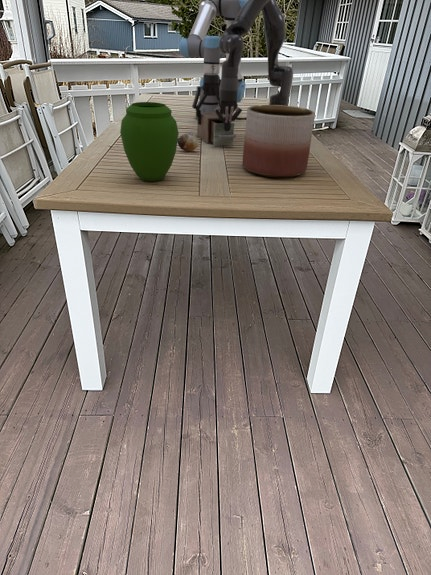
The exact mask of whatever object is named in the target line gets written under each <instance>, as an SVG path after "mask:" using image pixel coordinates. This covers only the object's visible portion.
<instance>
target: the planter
mask: <svg viewBox="0 0 431 575" xmlns="http://www.w3.org/2000/svg"><path fill="white" fill-rule="evenodd" d="M315 117H316V112H315V111H314V110H312V109H308V108H305V107H299V106H292V105H288V106H284V105H269V104H256V105H250V106H248V107H247V108H246V117H245V118H246V119H245V128H244V129H245V131H244V140H243V141H244V142H243V151H242V152H243V153H242V166H243V168H244V169H246V170H247V171H248V172H250V173H251V174H255V175H258V176H261V177H268V178H277V179H280V178H281V179H282V178H283V179H284V178H293V177H298V176H300V175H303V174H305V172H306V171H307V169H308V166H309V158H310V151H311V144H312V137H313V130H314V123H315Z"/></svg>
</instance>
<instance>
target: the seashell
mask: <svg viewBox="0 0 431 575" xmlns="http://www.w3.org/2000/svg"><path fill="white" fill-rule="evenodd" d="M199 145H200V143H199V140H198V138H197V137H195V135H194V134H193V132H192V131H189V132H187V133H184V134H182V135H180V137H178V141H177V146H178V147H179V149H180V150H183V151H185V152H192V151H194V150H196V149H197V148H198V147H200V146H199Z"/></svg>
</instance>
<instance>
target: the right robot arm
mask: <svg viewBox="0 0 431 575" xmlns="http://www.w3.org/2000/svg"><path fill="white" fill-rule="evenodd" d="M260 13H262V20H263V32H264V38H265V46H266V53H267V54H266V55H267V76H268V82H269V84H270V86H271V87H276V88H280V89H279V91H278V92H277V93H274V94H271V95H270V96H269V103H268V105H284V106H289V100H290V96H291V93H292V92H291V91H292V85H293V81H294V80H293V79H294V70H293V69H294V68H293V67H292V66H288V65H282V64H281V65H280V64H279V53H280V51H281V49H282V47H283V45H284V42H285V40H286V37H287V31H286V21H285V16H284V15H283V12H282V11H281V8H280V7H279V5H278V3H277V1H276V0H248V1H247V2H246V3H245V4H244V6H243V7H242V8H241V10H240V12H239V13H238V15H237V17H236V19H235V21H234V22H233V23H232V24H231V25H230V26H229V27H228V28H227V27H226V29H225V30H224V31H223V33H222V34H221V36H220V41H219V48H220V50H221V51H222V52H223V53H227V54H229V57H228V60H226V59H225V60H224V61H222V62H221V75H220V79H221V84H220V103H219V106H218V107H217V108H215V109H214V111H215V113H216V114H217V116H218V117H219V119H220V120H221V121H223V122H224V130H225V131H229V130H230V129H231V123H233V122H235V121H236V120H237V119H236V118H239V116H240V114H241V113H242V112H243V109H242V108H240V107H239V104H238V102H237V94H238V67H239V63H240V60H241V61H242V56H243V52H244V48H245V44H244V39H243V36H246V35H247V34H248V33H249V32H250V30H251V29H252V27H253V25H254V23H255V21H256V20H257V18H258V16H259V15H260ZM241 36H242V37H241ZM220 109H221V111H222V113H223V117H222V115H221V114H220Z"/></svg>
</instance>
